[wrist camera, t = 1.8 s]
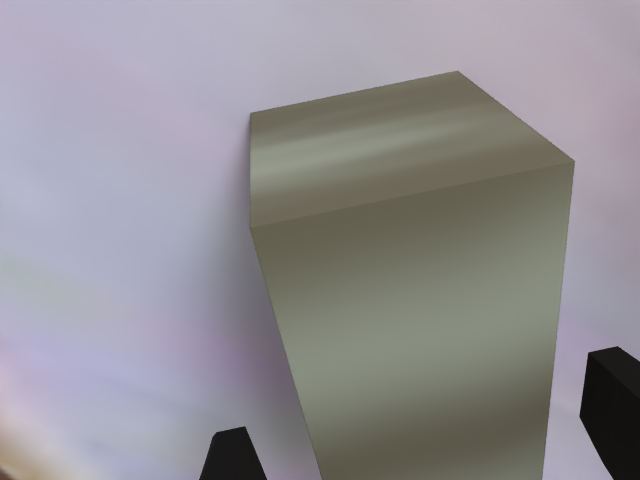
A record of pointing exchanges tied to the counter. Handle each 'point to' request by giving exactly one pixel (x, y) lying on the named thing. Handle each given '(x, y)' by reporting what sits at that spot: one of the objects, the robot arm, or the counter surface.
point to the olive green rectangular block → (414, 276)
